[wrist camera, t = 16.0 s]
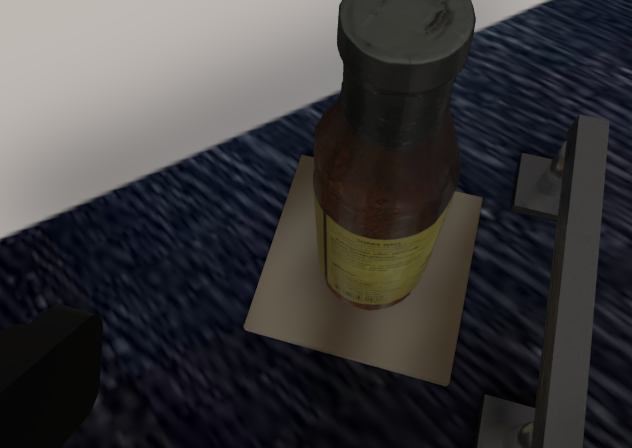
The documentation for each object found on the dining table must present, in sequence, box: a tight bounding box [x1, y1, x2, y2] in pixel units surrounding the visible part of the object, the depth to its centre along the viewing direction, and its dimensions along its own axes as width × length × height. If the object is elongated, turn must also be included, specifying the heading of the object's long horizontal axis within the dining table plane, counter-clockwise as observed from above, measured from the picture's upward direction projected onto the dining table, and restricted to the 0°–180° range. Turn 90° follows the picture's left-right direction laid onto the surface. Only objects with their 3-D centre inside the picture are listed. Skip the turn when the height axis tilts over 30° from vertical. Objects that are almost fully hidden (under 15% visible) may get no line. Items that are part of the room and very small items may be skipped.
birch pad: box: [244, 155, 482, 386], centre depth 35 cm, size 12×12×1 cm
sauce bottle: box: [313, 0, 476, 311], centre depth 25 cm, size 6×6×20 cm
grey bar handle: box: [473, 114, 609, 448], centre depth 31 cm, size 4×20×7 cm, turn 164°
